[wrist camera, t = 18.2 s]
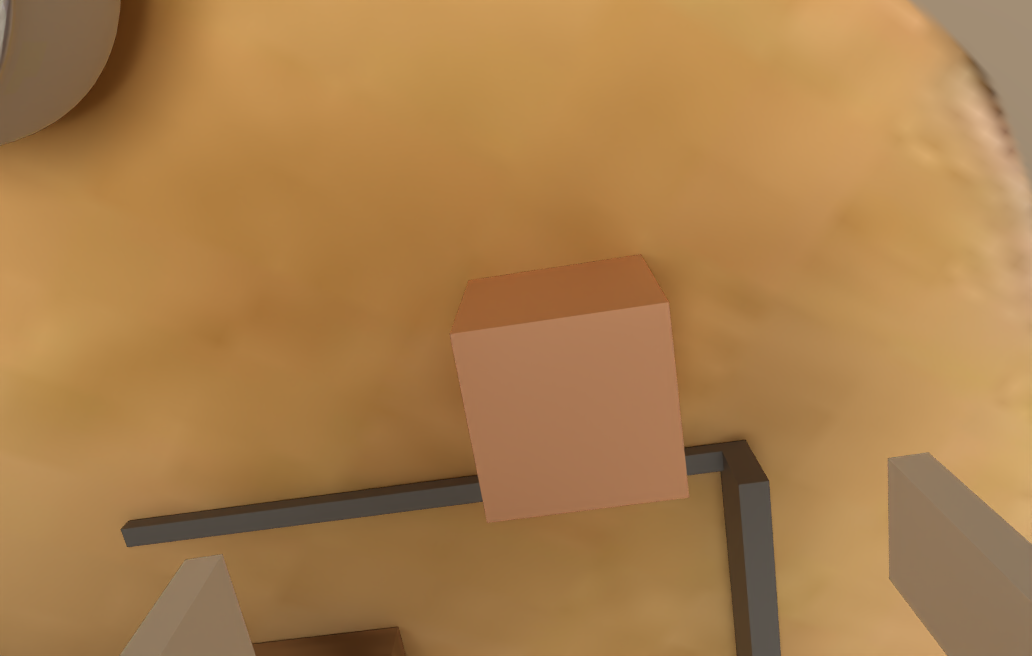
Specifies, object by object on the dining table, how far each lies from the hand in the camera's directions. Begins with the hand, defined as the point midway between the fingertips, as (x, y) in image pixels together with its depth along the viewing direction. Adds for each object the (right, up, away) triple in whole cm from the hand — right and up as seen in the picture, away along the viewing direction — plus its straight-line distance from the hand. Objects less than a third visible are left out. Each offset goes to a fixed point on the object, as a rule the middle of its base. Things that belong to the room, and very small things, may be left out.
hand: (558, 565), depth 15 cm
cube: (+1, +4, +12) cm, 13 cm away
